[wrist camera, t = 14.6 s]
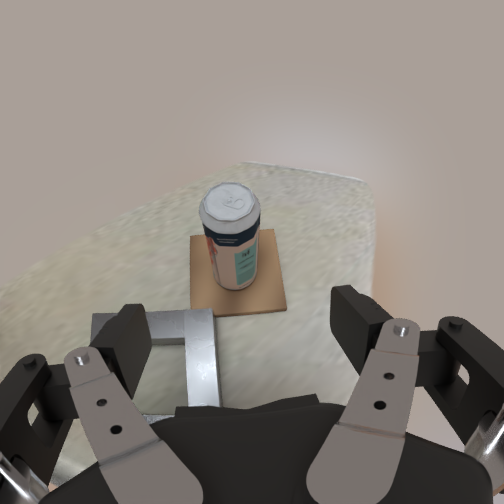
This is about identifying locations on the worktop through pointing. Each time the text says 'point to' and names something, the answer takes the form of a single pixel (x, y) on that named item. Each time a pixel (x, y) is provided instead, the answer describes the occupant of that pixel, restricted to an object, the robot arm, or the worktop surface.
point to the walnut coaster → (244, 300)
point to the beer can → (232, 233)
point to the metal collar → (196, 347)
